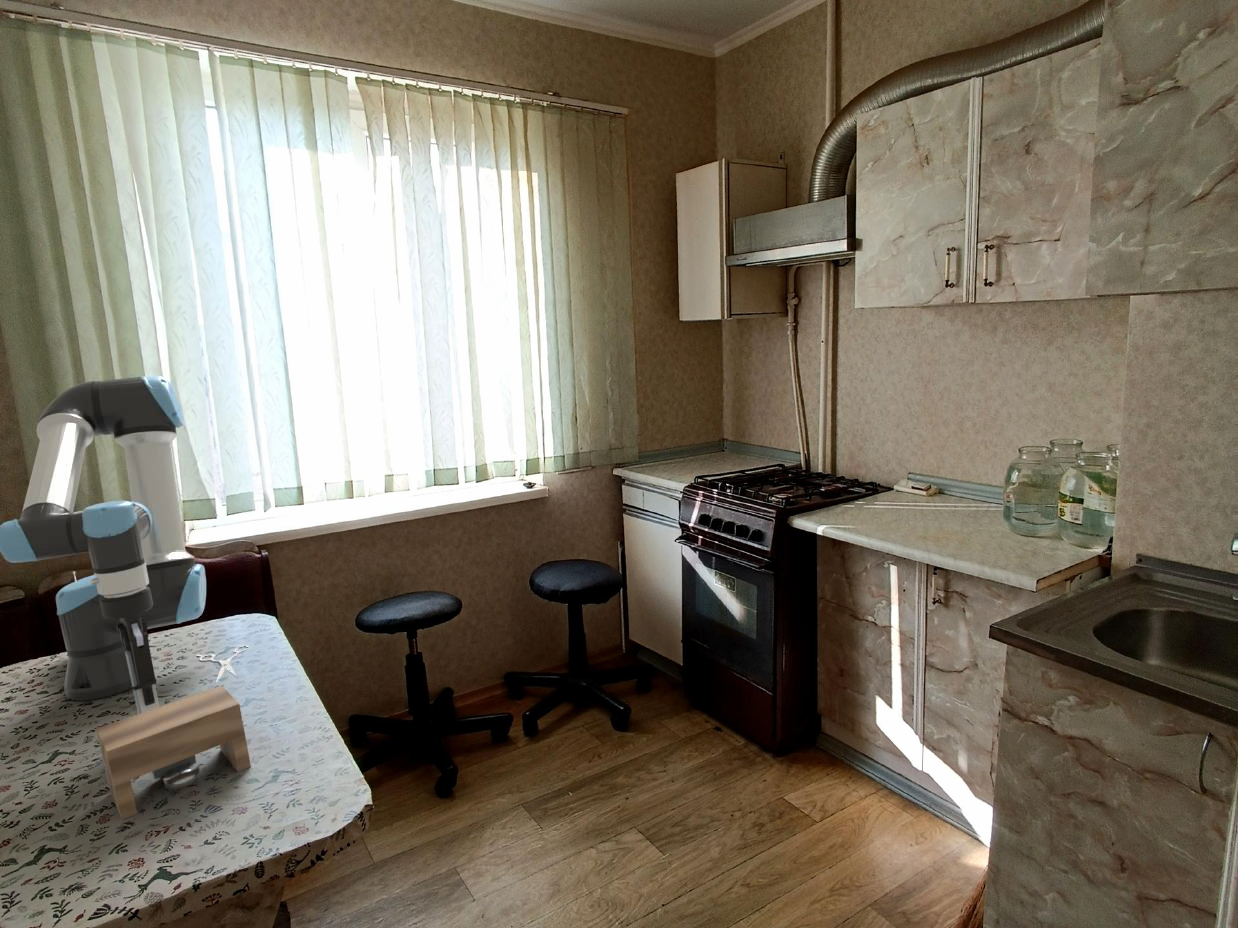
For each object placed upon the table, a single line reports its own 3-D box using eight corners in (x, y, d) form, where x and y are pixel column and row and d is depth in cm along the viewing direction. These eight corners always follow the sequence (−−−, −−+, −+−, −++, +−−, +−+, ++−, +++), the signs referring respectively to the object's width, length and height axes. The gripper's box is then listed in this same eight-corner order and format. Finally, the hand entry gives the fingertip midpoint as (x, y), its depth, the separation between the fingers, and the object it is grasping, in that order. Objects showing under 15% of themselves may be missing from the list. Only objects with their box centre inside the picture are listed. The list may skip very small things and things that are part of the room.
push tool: (132, 738, 135) (114, 654, 132) (170, 725, 139) (154, 642, 136) (154, 779, 121) (135, 685, 118) (196, 763, 124) (178, 671, 122)
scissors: (247, 642, 177) (254, 671, 160) (248, 645, 177) (255, 674, 160) (196, 654, 172) (197, 686, 155) (196, 658, 172) (198, 689, 155)
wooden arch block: (110, 792, 119) (96, 728, 117) (233, 744, 131) (221, 685, 129) (121, 819, 112) (106, 751, 110) (250, 766, 123) (239, 703, 121)
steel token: (161, 781, 121) (159, 773, 121) (195, 767, 125) (193, 759, 124) (170, 793, 118) (168, 785, 117) (204, 778, 121) (203, 770, 121)
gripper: (91, 588, 135) (118, 710, 139) (106, 607, 123) (134, 740, 127) (140, 576, 140) (164, 695, 143) (158, 593, 128) (184, 722, 131)
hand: (150, 716), depth 135 cm, fingers closed on push tool, 3 cm apart
